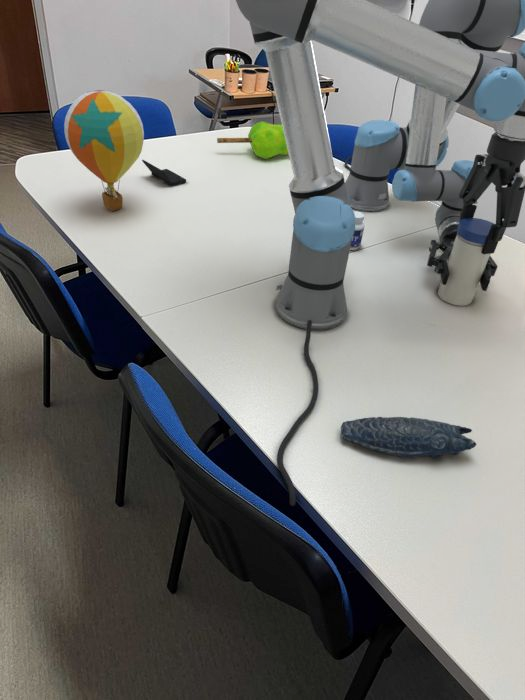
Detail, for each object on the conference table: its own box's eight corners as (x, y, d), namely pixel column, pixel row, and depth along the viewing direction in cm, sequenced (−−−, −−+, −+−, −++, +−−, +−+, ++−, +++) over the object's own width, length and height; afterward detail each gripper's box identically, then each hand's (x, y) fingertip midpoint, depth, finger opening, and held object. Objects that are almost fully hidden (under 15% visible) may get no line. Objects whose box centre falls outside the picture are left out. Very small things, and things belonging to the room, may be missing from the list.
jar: (467, 288, 125) (491, 224, 115) (476, 307, 119) (502, 240, 109) (434, 285, 125) (455, 221, 115) (441, 304, 119) (464, 237, 108)
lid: (499, 232, 114) (503, 224, 113) (495, 248, 108) (499, 239, 107) (459, 222, 117) (462, 214, 115) (453, 237, 110) (456, 228, 109)
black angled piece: (190, 175, 164) (173, 153, 156) (179, 193, 163) (161, 172, 155) (166, 170, 170) (147, 148, 162) (155, 188, 169) (136, 167, 161)
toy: (64, 203, 145) (44, 85, 127) (127, 189, 156) (117, 79, 137) (97, 229, 134) (80, 105, 116) (162, 213, 145) (156, 96, 126)
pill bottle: (338, 247, 137) (344, 215, 131) (342, 239, 140) (348, 208, 135) (357, 252, 135) (364, 220, 130) (361, 243, 139) (368, 212, 134)
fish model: (474, 470, 81) (484, 449, 78) (339, 453, 82) (344, 431, 79) (465, 439, 86) (475, 417, 83) (339, 423, 87) (344, 401, 84)
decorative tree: (214, 118, 187) (294, 118, 193) (214, 147, 194) (292, 146, 199) (220, 132, 174) (307, 132, 179) (220, 164, 180) (304, 162, 185)
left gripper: (569, 153, 93) (521, 265, 107) (493, 119, 108) (459, 220, 122) (536, 155, 90) (491, 268, 105) (463, 119, 106) (432, 223, 120)
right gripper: (491, 256, 133) (508, 304, 116) (409, 244, 135) (413, 289, 118) (502, 230, 129) (521, 275, 111) (417, 217, 131) (422, 260, 113)
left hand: (474, 242), depth 113 cm, fingers closed on lid, 8 cm apart
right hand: (466, 282), depth 114 cm, fingers closed on jar, 8 cm apart
